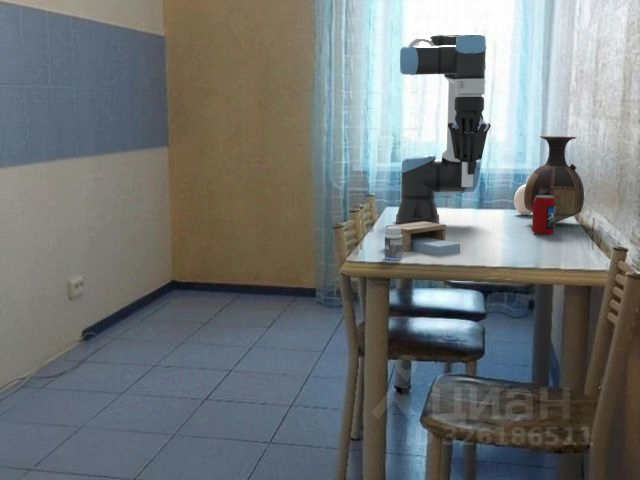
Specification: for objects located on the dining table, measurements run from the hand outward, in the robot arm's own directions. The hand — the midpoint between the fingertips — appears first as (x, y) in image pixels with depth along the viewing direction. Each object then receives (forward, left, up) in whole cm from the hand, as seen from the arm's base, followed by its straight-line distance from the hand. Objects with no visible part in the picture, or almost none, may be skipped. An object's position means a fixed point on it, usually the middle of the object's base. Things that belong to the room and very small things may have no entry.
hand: (467, 186), depth 201 cm
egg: (-41, +78, -19) cm, 90 cm away
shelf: (-19, 0, -19) cm, 27 cm away
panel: (-12, -1, -19) cm, 23 cm away
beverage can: (-10, +47, -19) cm, 51 cm away
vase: (-20, +66, -19) cm, 71 cm away
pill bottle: (-10, -17, -19) cm, 27 cm away
